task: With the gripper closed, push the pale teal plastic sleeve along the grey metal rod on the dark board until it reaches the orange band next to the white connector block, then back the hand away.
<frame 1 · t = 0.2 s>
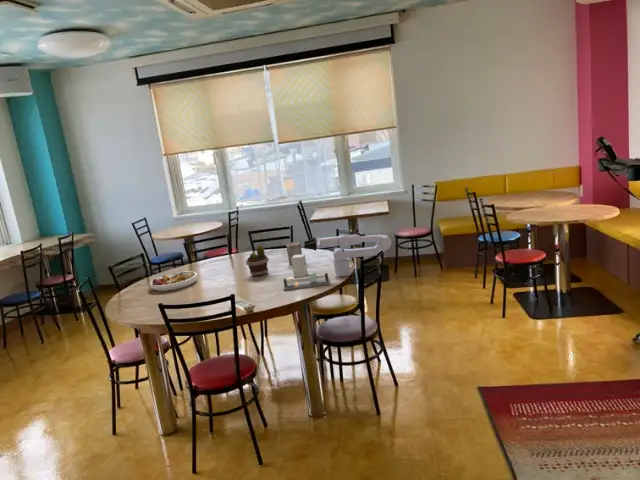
hand: (304, 245, 303), 21 cm above the table, tool horizontal, fingers open, 7 cm apart
bowl: (175, 285, 339), on the table
flowerpot: (259, 274, 335), on the table
cord board: (306, 285, 296), on the table
pillar candle: (296, 263, 350), on the table
supplement box: (301, 275, 318), on the table
sleeve: (312, 276, 295), point 5 cm above the table, slide at 0.0 cm
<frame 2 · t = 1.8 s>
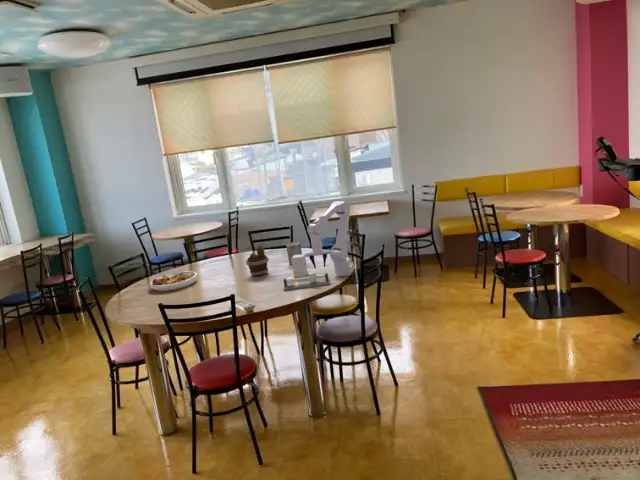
hand: (319, 267, 294), 9 cm above the table, tool pointing down, fingers open, 5 cm apart
nothing on the table moved.
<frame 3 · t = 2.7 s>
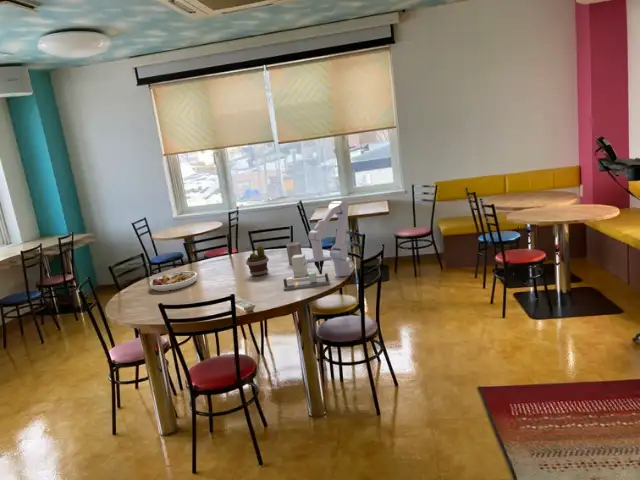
hand: (320, 273, 295), 6 cm above the table, tool pointing down, fingers closed
nothing on the table moved.
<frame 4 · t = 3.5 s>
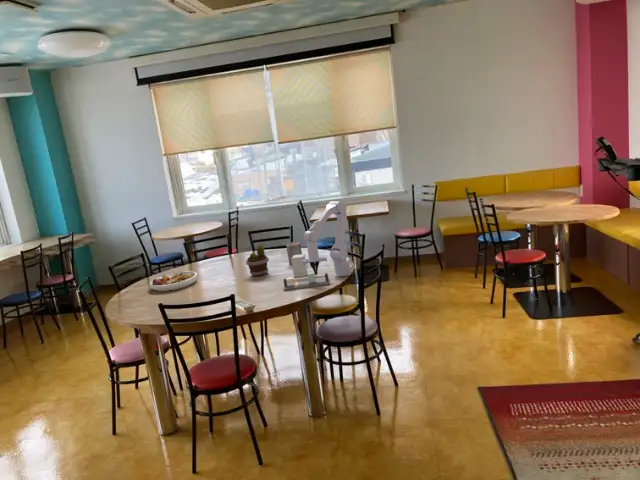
hand: (316, 274, 295), 6 cm above the table, tool pointing down, fingers closed
sleeve: (311, 276, 295), point 5 cm above the table, slide at 0.7 cm, touching gripper
everything else where it was.
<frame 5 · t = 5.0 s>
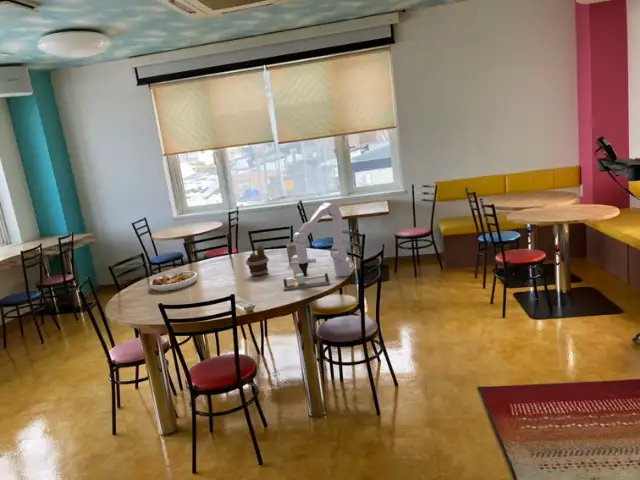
hand: (305, 275, 295), 6 cm above the table, tool pointing down, fingers closed
sleeve: (300, 278, 295), point 5 cm above the table, slide at 7.0 cm, touching gripper
everything else where it was.
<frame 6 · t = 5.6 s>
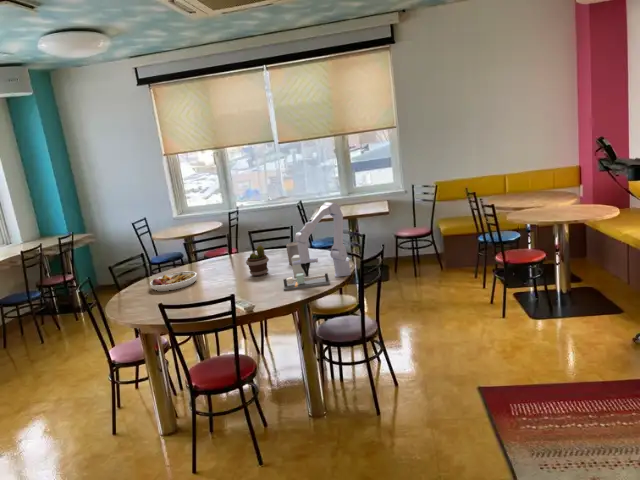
hand: (307, 275, 295), 6 cm above the table, tool pointing down, fingers closed
sleeve: (300, 278, 295), point 5 cm above the table, slide at 7.0 cm
everything else where it was.
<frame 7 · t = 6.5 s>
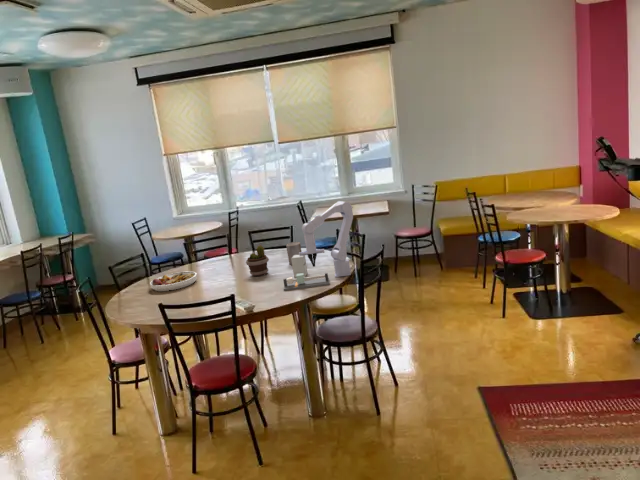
hand: (314, 266, 299), 9 cm above the table, tool pointing down, fingers closed
nothing on the table moved.
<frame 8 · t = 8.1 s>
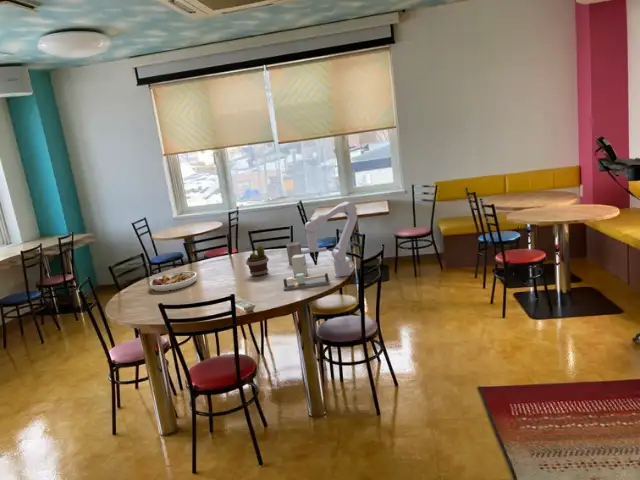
hand: (315, 264, 302), 9 cm above the table, tool pointing down, fingers closed
nothing on the table moved.
at the end: sleeve slide at 7.0 cm; the gripper is holding nothing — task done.
